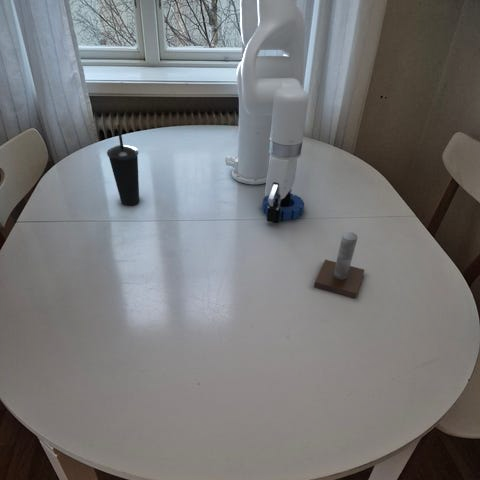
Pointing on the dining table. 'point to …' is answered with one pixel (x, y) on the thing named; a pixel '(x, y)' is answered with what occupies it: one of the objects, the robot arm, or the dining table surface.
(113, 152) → the drinking cup
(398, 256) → the dining table surface
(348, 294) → the peg on square base
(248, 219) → the dining table surface
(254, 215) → the dining table surface
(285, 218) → the ring
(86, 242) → the dining table surface
